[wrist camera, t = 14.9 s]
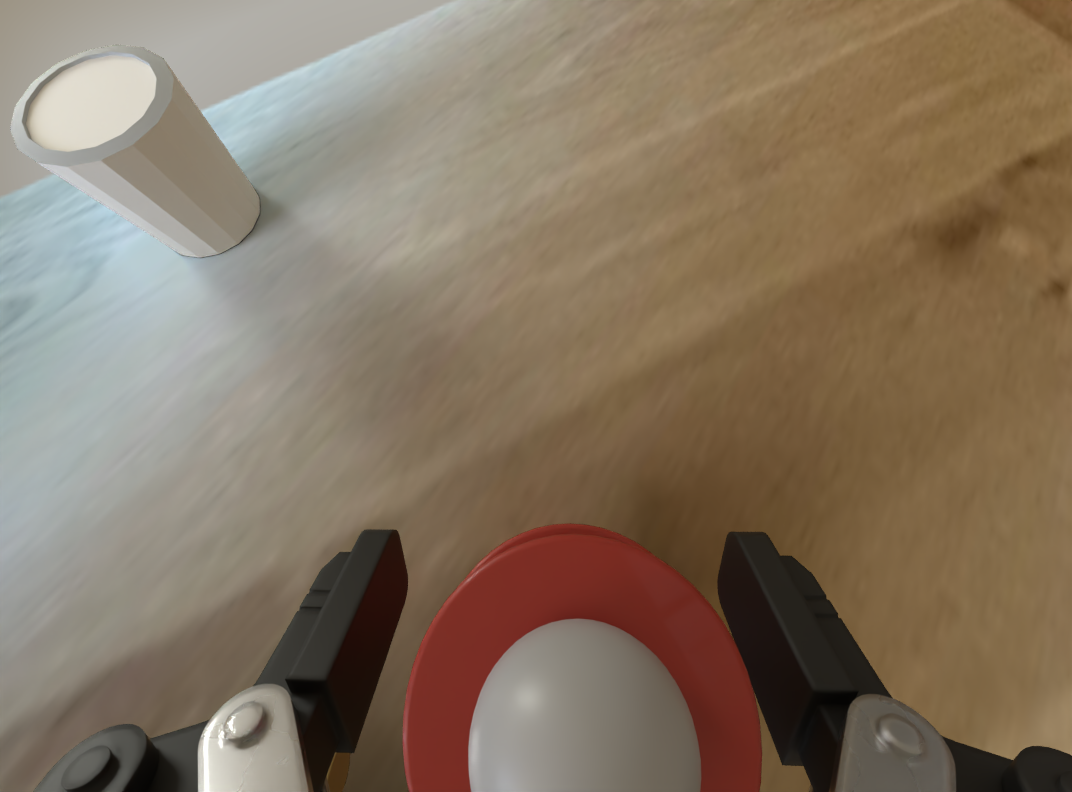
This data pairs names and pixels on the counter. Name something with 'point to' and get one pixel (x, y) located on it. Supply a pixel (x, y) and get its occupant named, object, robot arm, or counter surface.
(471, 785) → the pepper mill
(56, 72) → the white faceted cylinder
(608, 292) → the counter surface
